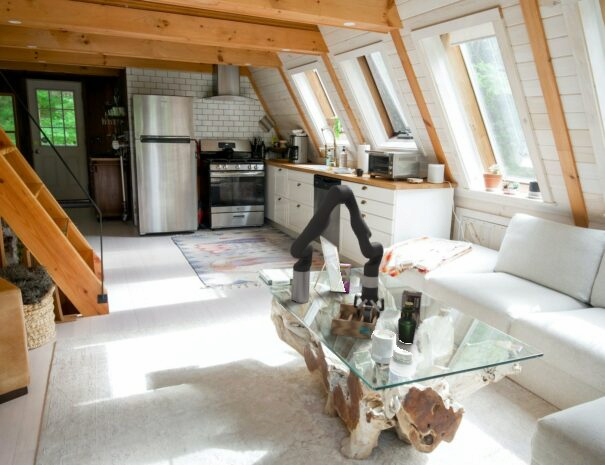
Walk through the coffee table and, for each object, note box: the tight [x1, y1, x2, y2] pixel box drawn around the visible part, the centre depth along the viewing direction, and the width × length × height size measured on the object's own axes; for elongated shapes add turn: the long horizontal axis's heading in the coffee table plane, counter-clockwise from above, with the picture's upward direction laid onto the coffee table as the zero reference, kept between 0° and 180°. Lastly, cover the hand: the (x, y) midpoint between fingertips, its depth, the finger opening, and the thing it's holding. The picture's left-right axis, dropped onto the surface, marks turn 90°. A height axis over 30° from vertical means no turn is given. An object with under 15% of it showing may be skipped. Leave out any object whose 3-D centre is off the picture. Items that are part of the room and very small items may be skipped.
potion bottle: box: [397, 302, 417, 344], centre depth 214 cm, size 8×8×18 cm
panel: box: [363, 305, 374, 323], centre depth 227 cm, size 3×12×10 cm, turn 165°
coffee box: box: [400, 290, 423, 329], centre depth 234 cm, size 9×6×16 cm
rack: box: [331, 302, 378, 340], centre depth 229 cm, size 19×23×7 cm
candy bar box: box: [338, 262, 352, 294], centre depth 278 cm, size 11×5×16 cm, turn 84°
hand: (368, 317), depth 227 cm, fingers open, 8 cm apart
